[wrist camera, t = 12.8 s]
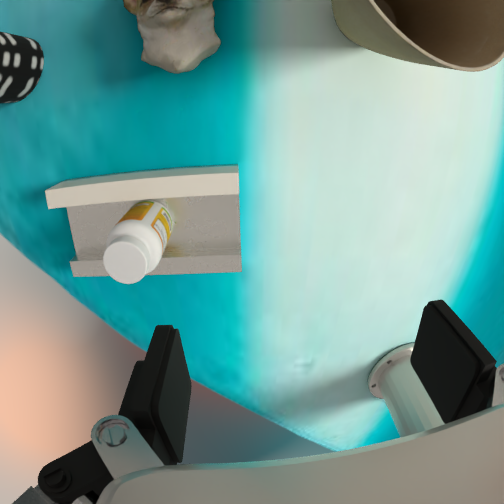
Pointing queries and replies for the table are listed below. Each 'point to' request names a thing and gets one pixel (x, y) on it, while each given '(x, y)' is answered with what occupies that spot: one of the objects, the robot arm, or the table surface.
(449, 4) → the plant pot
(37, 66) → the spotted tube
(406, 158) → the table surface
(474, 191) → the table surface
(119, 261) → the supplement bottle
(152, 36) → the ceramic sculpture
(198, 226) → the track
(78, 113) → the table surface
